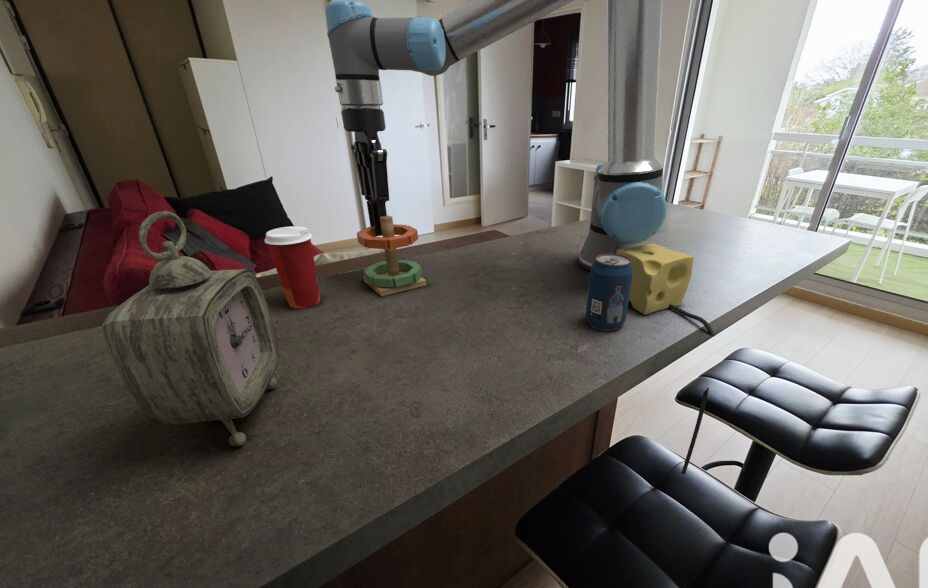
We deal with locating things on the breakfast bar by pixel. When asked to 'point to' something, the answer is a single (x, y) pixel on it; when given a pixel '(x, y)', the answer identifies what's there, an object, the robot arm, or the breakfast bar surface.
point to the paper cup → (295, 265)
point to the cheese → (657, 277)
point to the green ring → (396, 280)
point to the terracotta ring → (372, 241)
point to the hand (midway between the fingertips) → (380, 232)
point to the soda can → (609, 291)
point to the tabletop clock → (194, 339)
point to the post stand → (393, 263)
